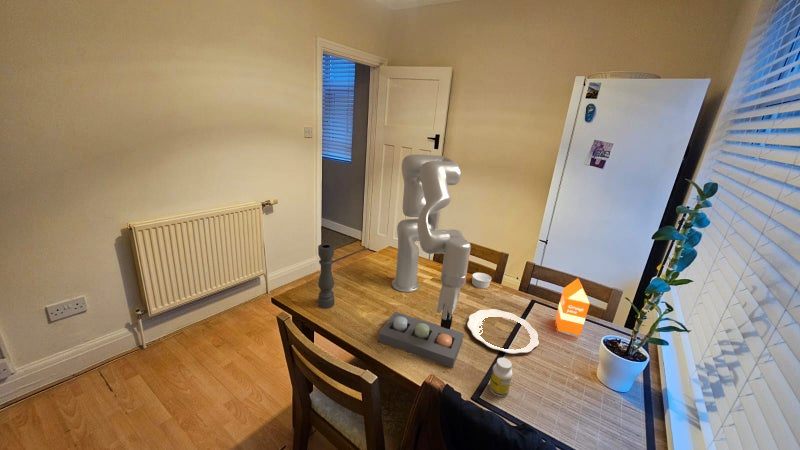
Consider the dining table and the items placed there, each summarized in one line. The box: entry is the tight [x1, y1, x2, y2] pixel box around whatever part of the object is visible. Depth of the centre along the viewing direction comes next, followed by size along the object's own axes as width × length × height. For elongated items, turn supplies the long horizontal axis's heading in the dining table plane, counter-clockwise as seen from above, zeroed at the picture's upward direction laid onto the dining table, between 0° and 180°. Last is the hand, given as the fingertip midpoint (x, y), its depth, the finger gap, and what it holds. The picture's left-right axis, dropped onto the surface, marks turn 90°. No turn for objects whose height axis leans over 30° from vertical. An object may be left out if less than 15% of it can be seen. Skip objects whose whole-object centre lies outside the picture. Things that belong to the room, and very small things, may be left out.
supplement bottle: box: [488, 357, 513, 398], centre depth 89 cm, size 5×5×10 cm
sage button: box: [415, 323, 429, 340], centre depth 107 cm, size 5×5×3 cm
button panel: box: [377, 311, 465, 369], centre depth 107 cm, size 14×26×4 cm, turn 67°
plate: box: [466, 308, 540, 355], centre depth 116 cm, size 25×25×2 cm
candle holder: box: [317, 243, 335, 310], centre depth 121 cm, size 6×6×25 cm
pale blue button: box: [393, 317, 407, 332], centre depth 109 cm, size 5×5×3 cm
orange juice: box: [555, 278, 591, 336], centre depth 118 cm, size 8×9×20 cm
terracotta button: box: [437, 334, 452, 349], centre depth 104 cm, size 5×5×3 cm
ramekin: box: [471, 272, 492, 289], centre depth 149 cm, size 9×9×4 cm
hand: (445, 326), depth 103 cm, fingers closed
